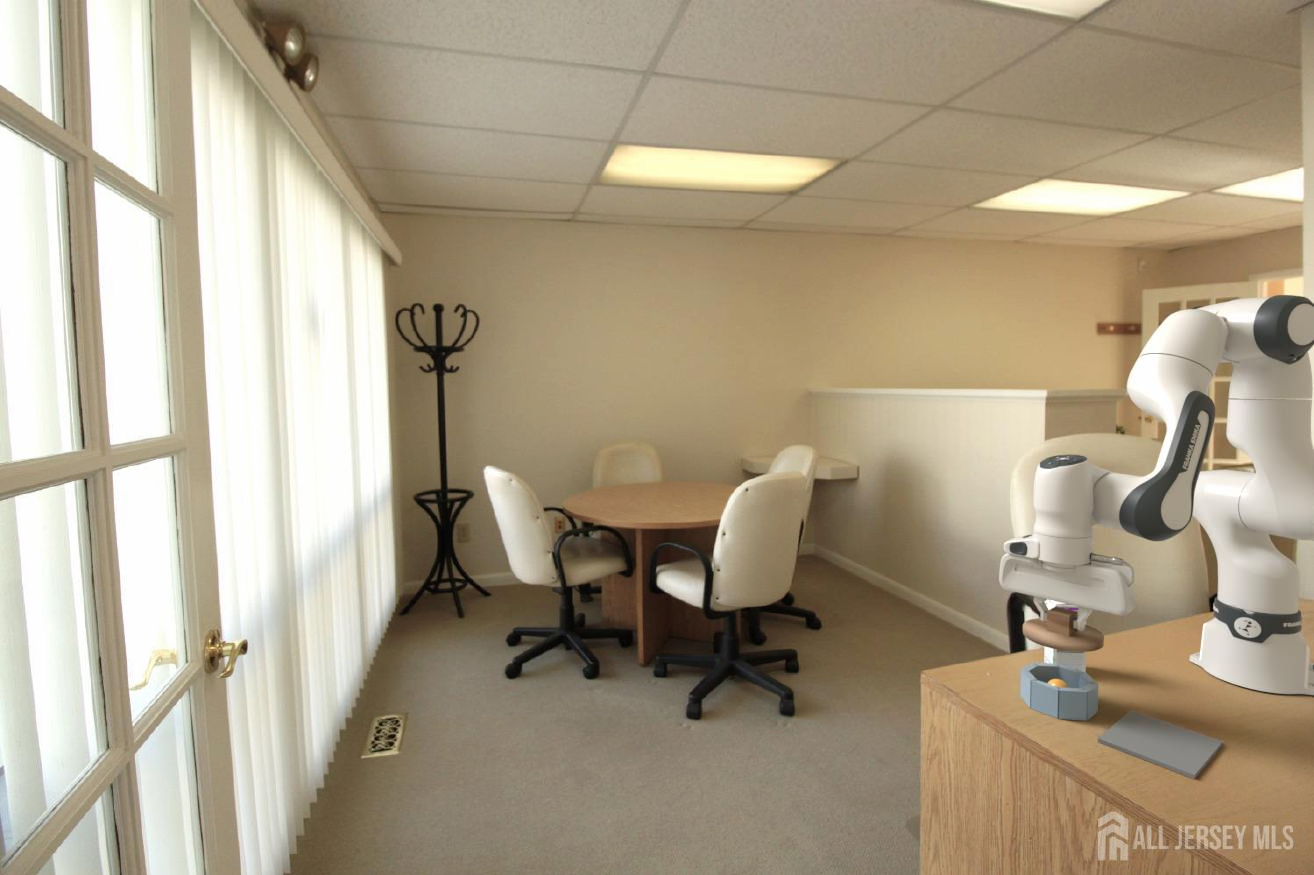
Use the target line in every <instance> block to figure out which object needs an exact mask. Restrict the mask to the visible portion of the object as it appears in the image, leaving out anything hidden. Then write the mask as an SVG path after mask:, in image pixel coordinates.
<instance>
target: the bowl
mask: <svg viewBox="0 0 1314 875" xmlns="http://www.w3.org/2000/svg"><path fill="white" fill-rule="evenodd" d="M1019 684H1020V685H1019V686H1020V689H1019V690H1020V691H1019V692H1020V693H1019V694H1020V695H1019V696H1020V698H1021V699H1022V701H1024V702H1025V704H1026V705H1027V706H1028V708H1030V709H1032V710H1034V711H1036V712H1038V713H1042V714H1045V715H1047V716H1049V717H1052V718H1055V719H1059V720H1072V721H1089V720H1090V719H1091V718H1092V717H1094V716H1095V715H1096V714H1097V713H1099V710H1098V709H1099V686H1100V685H1099V683H1098V682H1097V681H1096V680H1095V679H1094V678H1093V677H1092V676H1090V675H1089V674H1088V673H1087V672H1086V673H1085V672H1083V671H1080V670H1076V669H1073V668H1070V667H1067V666H1064V665H1060V664H1051V663H1043V662H1031V663H1029V664H1028V665H1025V666H1024V667H1022V668H1020V683H1019ZM1094 714H1095V715H1094ZM1093 715H1094V716H1093Z"/></svg>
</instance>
